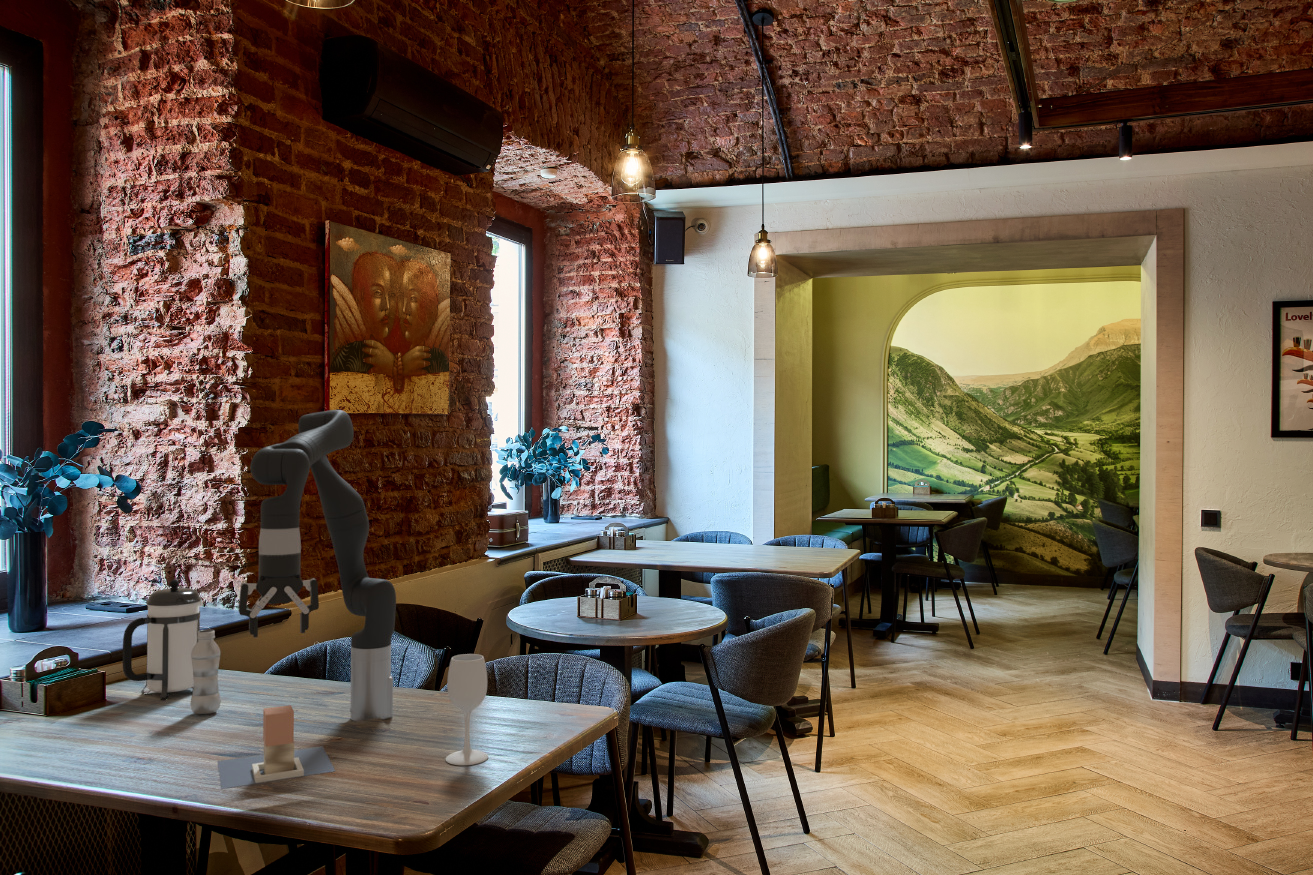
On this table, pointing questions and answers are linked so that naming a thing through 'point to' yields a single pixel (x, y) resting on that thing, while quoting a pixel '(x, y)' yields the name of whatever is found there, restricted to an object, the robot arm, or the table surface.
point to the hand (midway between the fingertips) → (279, 634)
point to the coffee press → (167, 640)
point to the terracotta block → (278, 725)
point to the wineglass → (467, 700)
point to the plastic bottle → (205, 674)
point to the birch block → (278, 758)
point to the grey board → (253, 773)
